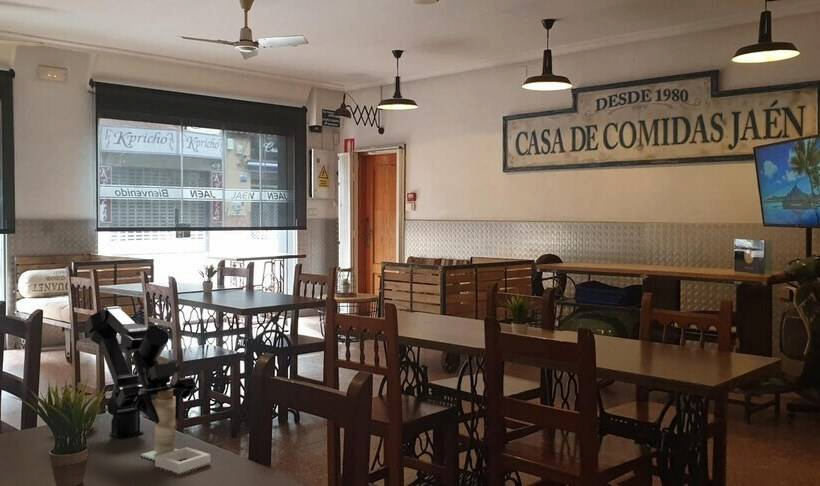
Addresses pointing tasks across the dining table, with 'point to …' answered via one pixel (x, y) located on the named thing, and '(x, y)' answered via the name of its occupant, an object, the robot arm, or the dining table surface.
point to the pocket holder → (171, 458)
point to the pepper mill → (165, 422)
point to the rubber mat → (152, 454)
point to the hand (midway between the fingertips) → (167, 420)
